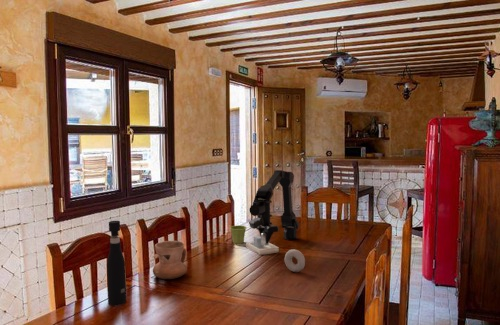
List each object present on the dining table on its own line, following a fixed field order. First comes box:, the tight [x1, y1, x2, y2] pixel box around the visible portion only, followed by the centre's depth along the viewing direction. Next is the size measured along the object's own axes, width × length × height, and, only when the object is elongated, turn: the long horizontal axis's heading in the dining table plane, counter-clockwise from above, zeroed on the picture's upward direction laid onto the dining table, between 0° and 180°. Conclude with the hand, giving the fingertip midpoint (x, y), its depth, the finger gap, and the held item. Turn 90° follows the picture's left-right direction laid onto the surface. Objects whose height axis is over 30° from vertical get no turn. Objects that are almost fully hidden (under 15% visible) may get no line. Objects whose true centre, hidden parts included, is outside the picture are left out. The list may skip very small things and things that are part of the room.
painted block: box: [253, 235, 264, 248], centre depth 217 cm, size 4×4×5 cm
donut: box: [284, 248, 306, 273], centre depth 179 cm, size 10×4×10 cm, turn 54°
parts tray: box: [245, 241, 280, 256], centre depth 214 cm, size 11×16×2 cm
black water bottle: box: [106, 220, 127, 307], centre depth 148 cm, size 6×6×30 cm
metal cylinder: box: [261, 232, 270, 246], centre depth 210 cm, size 4×4×6 cm
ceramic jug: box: [152, 240, 188, 280], centre depth 176 cm, size 18×14×14 cm
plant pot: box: [229, 225, 247, 245], centre depth 228 cm, size 9×9×9 cm
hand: (265, 242), depth 210 cm, fingers closed on metal cylinder, 4 cm apart
